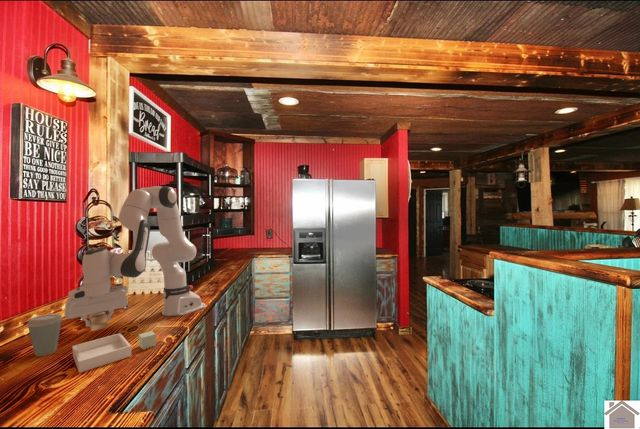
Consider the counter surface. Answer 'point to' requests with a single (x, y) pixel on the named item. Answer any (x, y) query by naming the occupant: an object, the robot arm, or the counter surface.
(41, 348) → the disposable coffee cup
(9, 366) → the counter surface
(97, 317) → the maple block
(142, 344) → the sage block
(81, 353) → the tray
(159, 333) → the counter surface
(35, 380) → the counter surface
